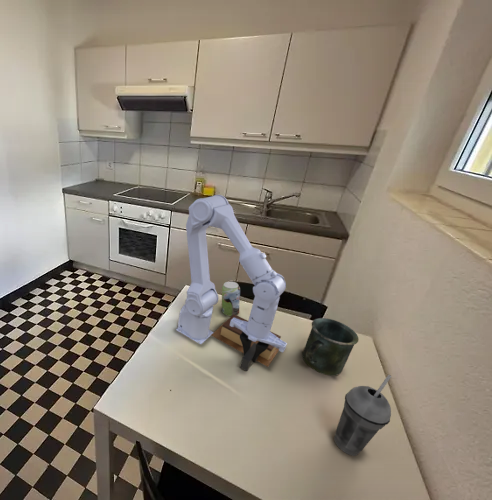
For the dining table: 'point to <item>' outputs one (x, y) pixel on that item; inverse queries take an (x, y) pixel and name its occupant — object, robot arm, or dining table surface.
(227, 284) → the beverage can
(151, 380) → the dining table surface
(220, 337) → the cake board
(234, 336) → the cake
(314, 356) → the mug
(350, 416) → the beverage cup
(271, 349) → the cake slice
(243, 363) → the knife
